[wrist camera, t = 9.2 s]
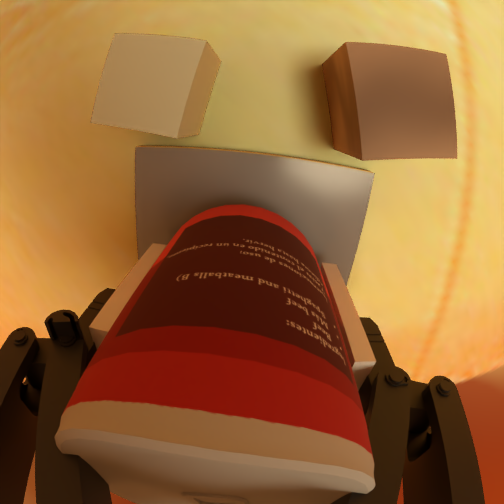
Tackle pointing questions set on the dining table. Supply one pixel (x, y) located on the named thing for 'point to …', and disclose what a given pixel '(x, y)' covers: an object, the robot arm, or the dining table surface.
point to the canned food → (224, 376)
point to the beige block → (156, 84)
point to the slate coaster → (252, 195)
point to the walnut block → (390, 102)
